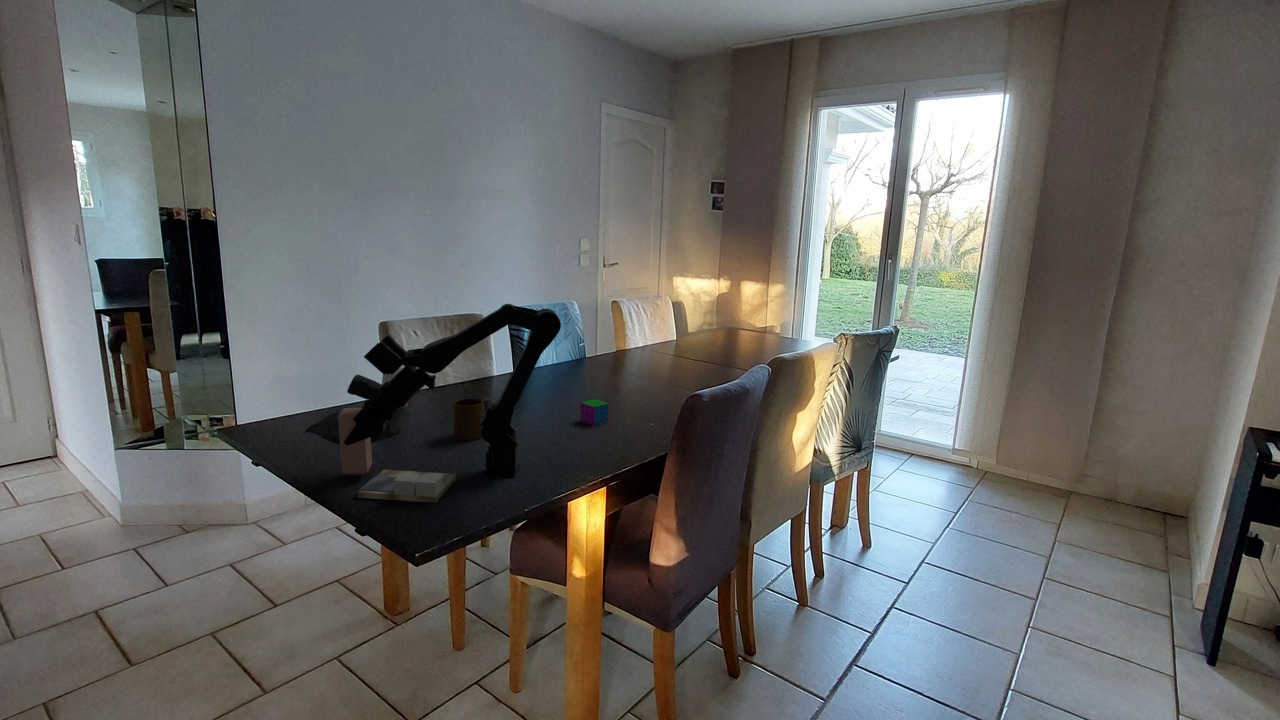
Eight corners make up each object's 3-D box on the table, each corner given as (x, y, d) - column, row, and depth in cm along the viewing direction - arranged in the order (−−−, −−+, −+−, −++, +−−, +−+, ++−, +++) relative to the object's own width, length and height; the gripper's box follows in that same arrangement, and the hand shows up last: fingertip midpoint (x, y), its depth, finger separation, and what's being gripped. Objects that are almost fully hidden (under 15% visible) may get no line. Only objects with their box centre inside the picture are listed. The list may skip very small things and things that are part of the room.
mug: (479, 425, 174) (479, 393, 172) (501, 431, 170) (501, 397, 168) (447, 437, 163) (447, 402, 161) (469, 443, 160) (469, 407, 158)
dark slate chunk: (353, 418, 176) (352, 402, 175) (405, 434, 165) (405, 417, 164) (300, 432, 163) (299, 415, 162) (353, 451, 152) (352, 432, 151)
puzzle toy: (608, 422, 183) (608, 403, 181) (593, 426, 178) (594, 406, 177) (594, 417, 186) (594, 399, 185) (580, 421, 182) (580, 402, 181)
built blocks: (442, 489, 129) (442, 475, 129) (435, 497, 125) (435, 483, 125) (402, 486, 130) (402, 472, 129) (394, 494, 126) (393, 480, 125)
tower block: (372, 463, 139) (368, 407, 136) (367, 472, 134) (363, 415, 131) (347, 464, 138) (343, 408, 135) (342, 473, 133) (337, 415, 130)
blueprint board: (455, 479, 137) (455, 473, 137) (435, 502, 126) (435, 496, 125) (384, 474, 138) (384, 468, 138) (357, 497, 126) (357, 491, 126)
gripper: (379, 354, 141) (329, 402, 140) (362, 373, 123) (304, 428, 123) (417, 387, 144) (368, 434, 144) (405, 411, 126) (350, 465, 126)
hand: (348, 439), depth 134 cm, fingers closed on tower block, 5 cm apart
